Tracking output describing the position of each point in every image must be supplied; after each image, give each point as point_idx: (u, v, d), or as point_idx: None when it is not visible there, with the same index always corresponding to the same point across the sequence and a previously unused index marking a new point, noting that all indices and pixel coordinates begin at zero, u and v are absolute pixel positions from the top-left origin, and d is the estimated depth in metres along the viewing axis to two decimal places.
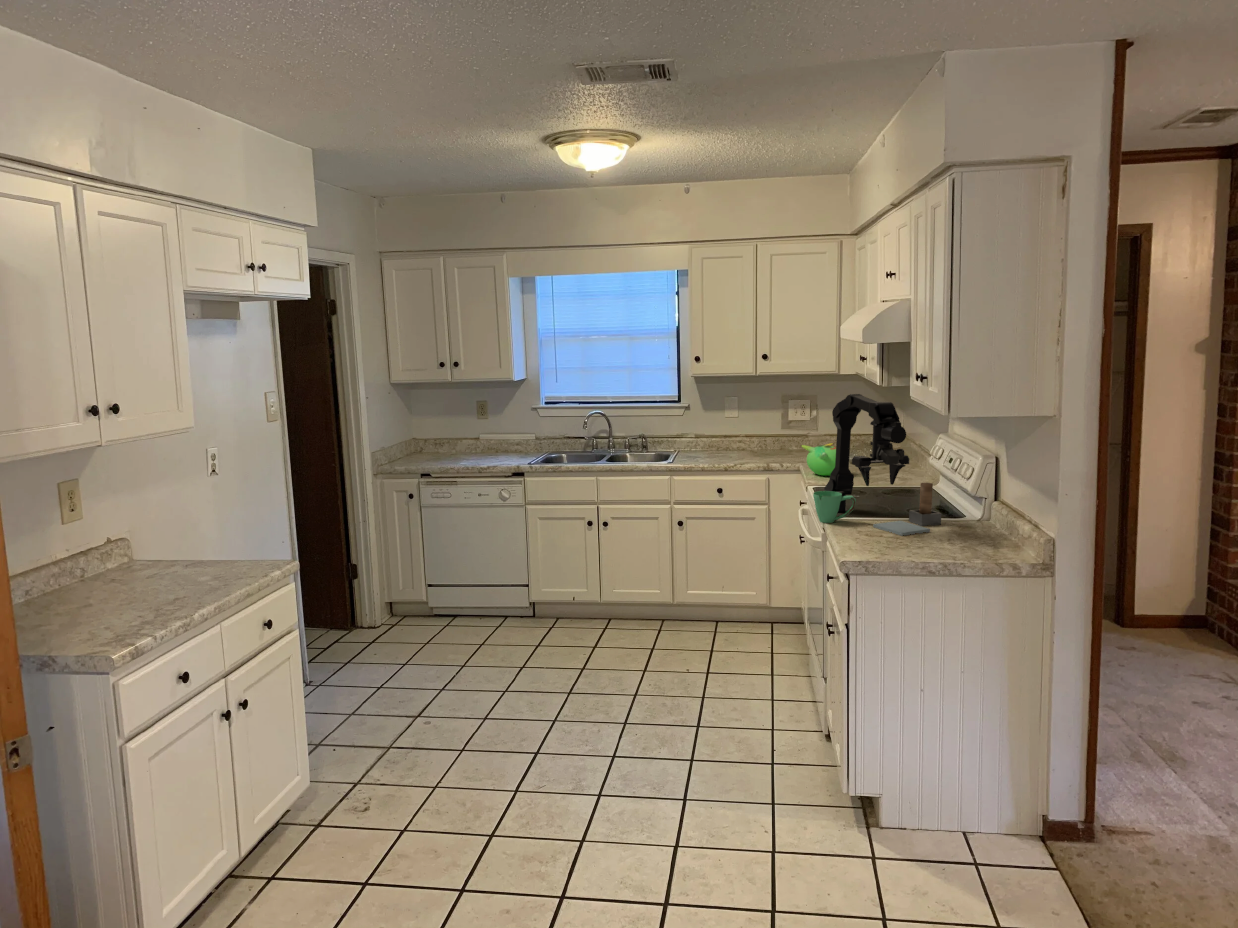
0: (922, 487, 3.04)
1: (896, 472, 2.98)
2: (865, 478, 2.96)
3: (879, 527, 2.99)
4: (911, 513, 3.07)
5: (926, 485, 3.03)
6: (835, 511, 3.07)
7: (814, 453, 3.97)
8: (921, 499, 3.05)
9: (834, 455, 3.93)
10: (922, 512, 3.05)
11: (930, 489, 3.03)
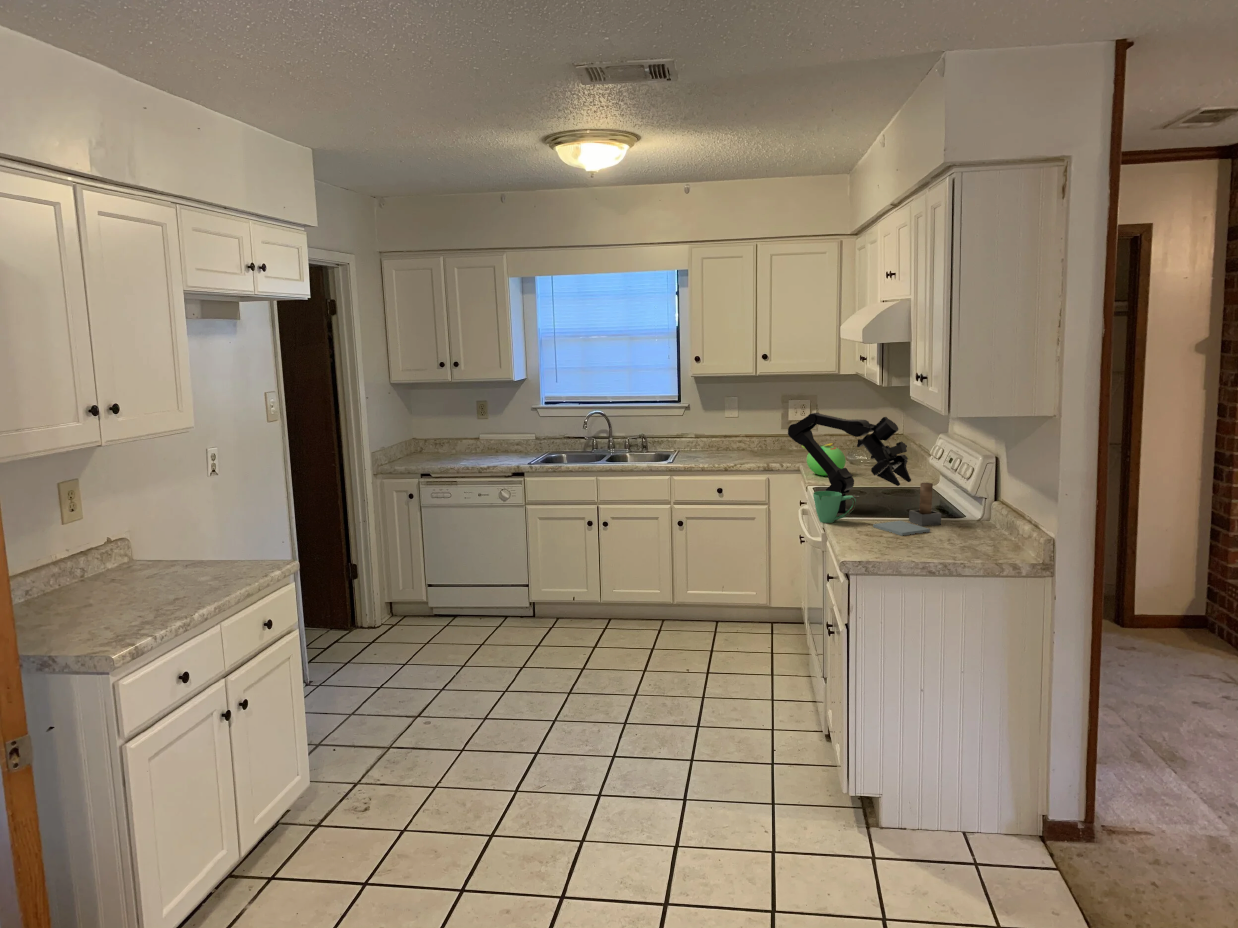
0: (922, 487, 3.04)
1: (906, 469, 3.14)
2: (893, 479, 3.06)
3: (879, 527, 2.99)
4: (911, 513, 3.07)
5: (926, 485, 3.03)
6: (835, 511, 3.07)
7: None
8: (921, 499, 3.05)
9: (834, 455, 3.93)
10: (922, 512, 3.05)
11: (930, 489, 3.03)
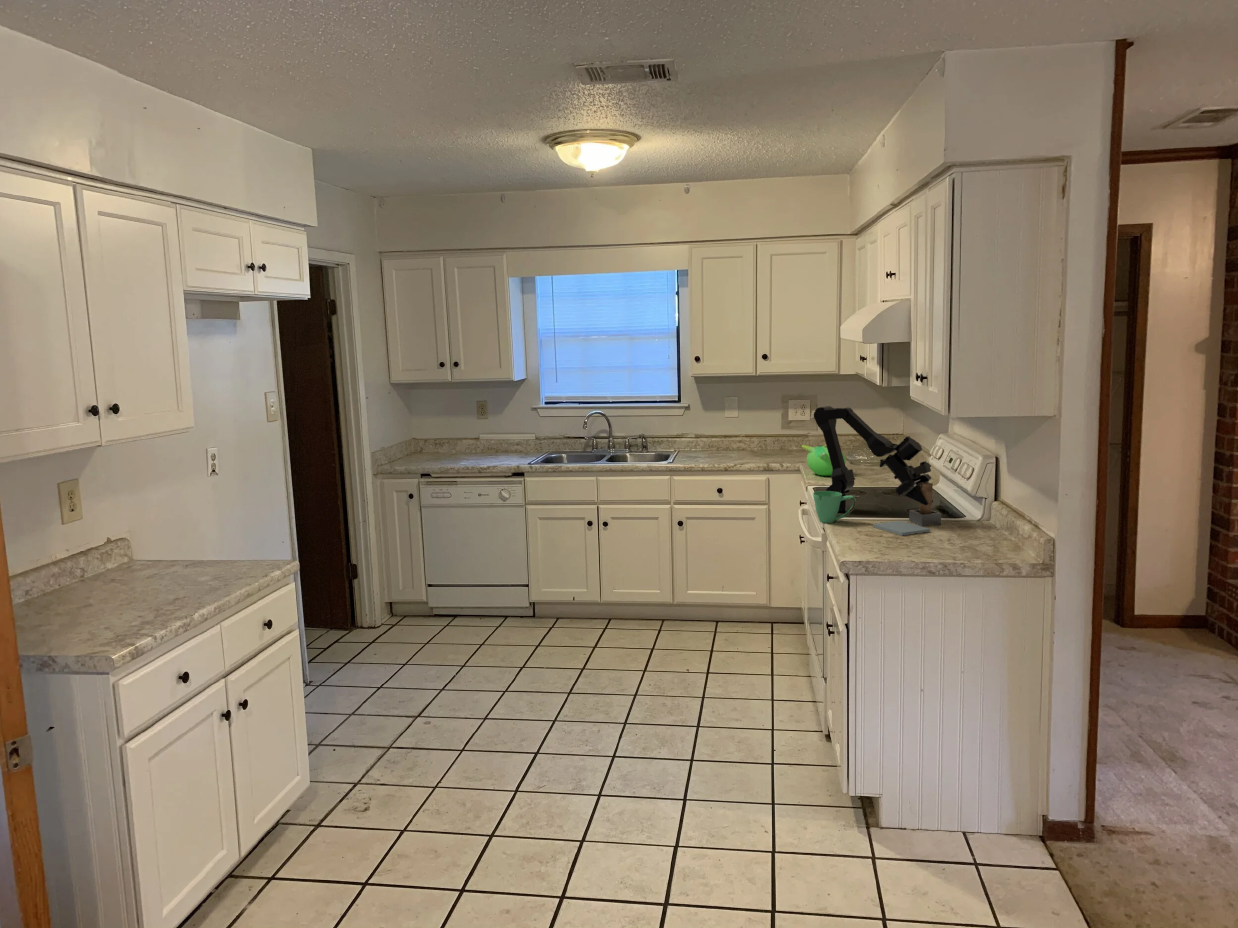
0: (922, 487, 3.04)
1: None
2: (921, 498, 3.03)
3: (879, 527, 2.99)
4: (911, 513, 3.07)
5: (926, 485, 3.03)
6: (835, 511, 3.07)
7: (814, 453, 3.97)
8: None
9: None
10: (922, 512, 3.05)
11: (930, 489, 3.03)
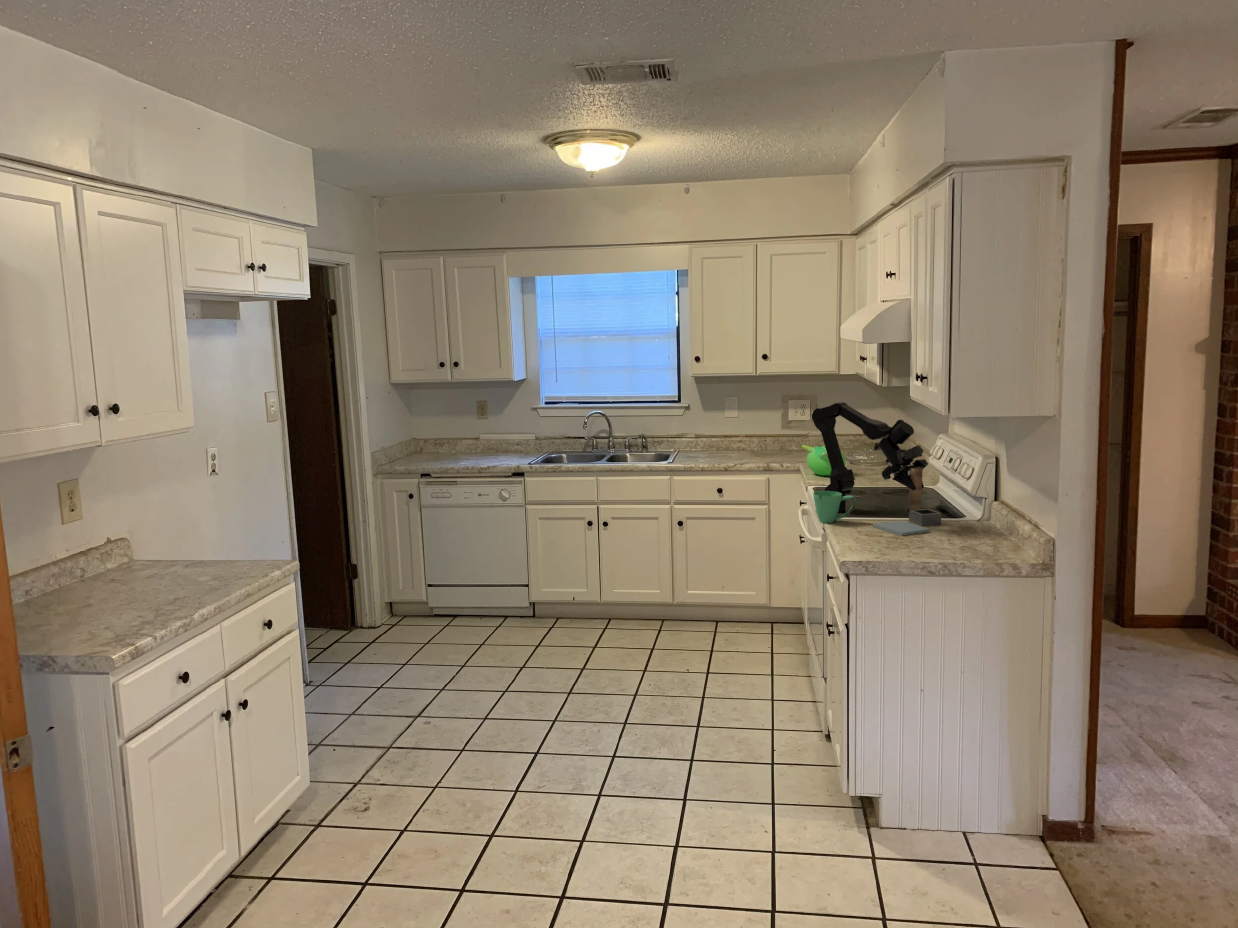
0: (911, 472, 2.98)
1: None
2: (908, 483, 2.97)
3: (879, 527, 2.99)
4: (911, 513, 3.07)
5: (914, 470, 2.96)
6: (835, 511, 3.07)
7: (814, 453, 3.97)
8: None
9: None
10: (910, 497, 2.99)
11: (919, 474, 2.96)
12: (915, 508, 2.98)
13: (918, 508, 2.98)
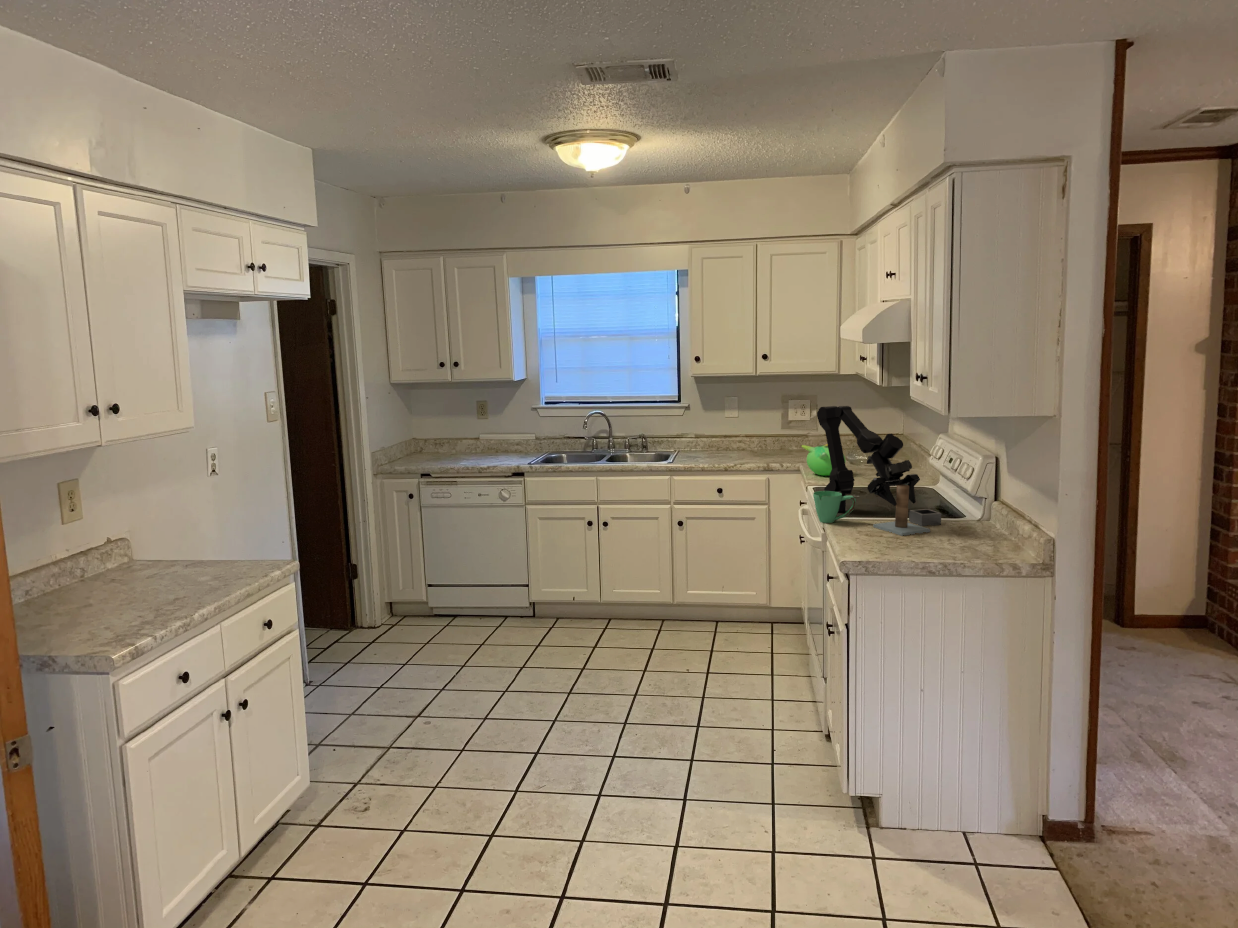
0: (897, 489, 2.95)
1: (912, 489, 2.98)
2: (890, 498, 2.94)
3: (879, 527, 2.99)
4: (911, 513, 3.07)
5: (900, 487, 2.94)
6: (835, 511, 3.07)
7: (814, 453, 3.97)
8: (896, 501, 2.96)
9: None
10: (896, 515, 2.96)
11: (904, 492, 2.94)
12: (901, 526, 2.96)
13: (904, 526, 2.96)
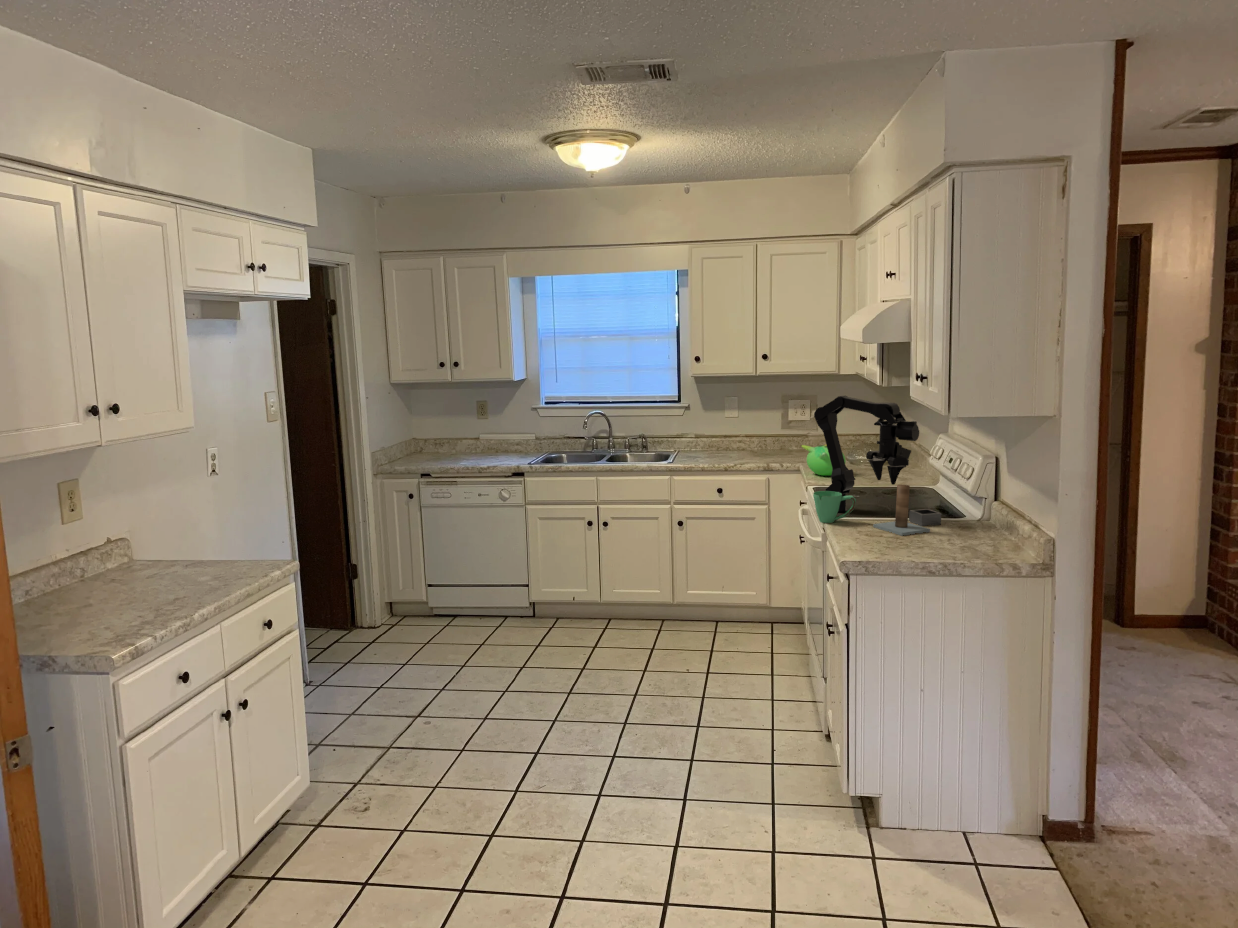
0: (897, 489, 2.96)
1: None
2: (895, 477, 3.07)
3: (879, 527, 2.99)
4: (911, 513, 3.07)
5: (900, 487, 2.94)
6: (835, 511, 3.07)
7: (814, 453, 3.97)
8: (896, 501, 2.96)
9: None
10: (896, 514, 2.96)
11: (904, 491, 2.94)
12: (901, 526, 2.96)
13: (904, 526, 2.96)
